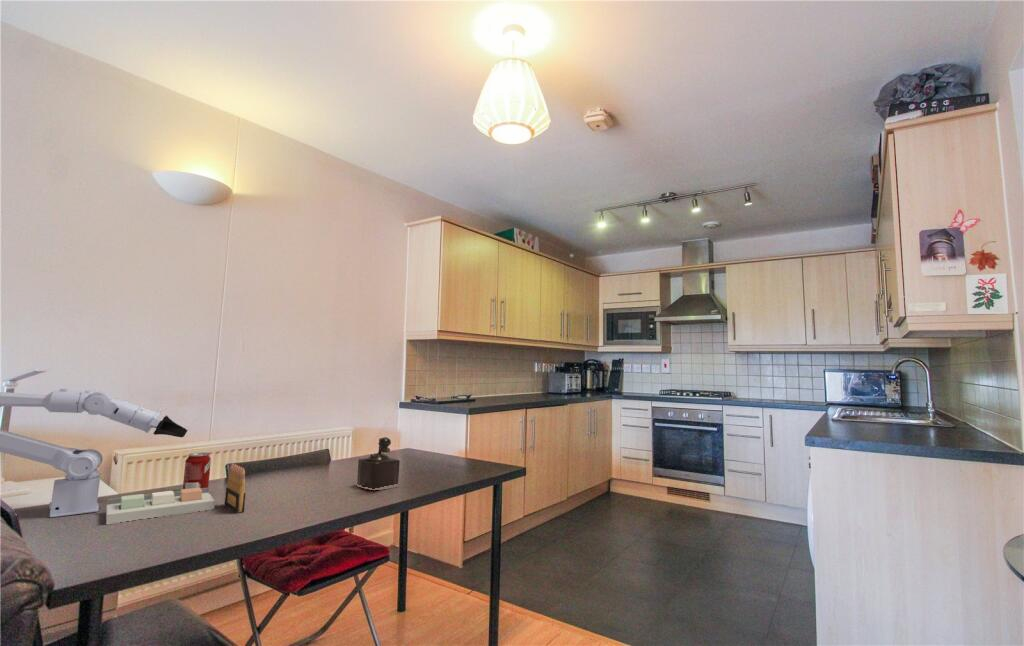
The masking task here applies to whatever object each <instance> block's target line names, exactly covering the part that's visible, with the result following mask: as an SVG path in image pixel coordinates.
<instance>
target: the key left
mask: <svg viewBox="0 0 1024 646" xmlns="http://www.w3.org/2000/svg"><path fill="white" fill-rule="evenodd" d="M144 495H145V494H144V493H141V494H140V493H138V494H131V495H130V494H129V495H122V496H121V497H120V498H121V504H120V510H122V509H130V508H138V507H143V506H144Z"/></svg>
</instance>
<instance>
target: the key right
mask: <svg viewBox="0 0 1024 646" xmlns="http://www.w3.org/2000/svg"><path fill="white" fill-rule="evenodd" d="M179 491H180V502H185V501H193V500H201V499H202V490H201V489H200V488H191V489H183V488H182V489H180V490H179Z"/></svg>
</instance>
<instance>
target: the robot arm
mask: <svg viewBox="0 0 1024 646" xmlns="http://www.w3.org/2000/svg"><path fill="white" fill-rule="evenodd" d="M1 407H29V408H31V407H32V408H33V407H35V408H36V407H37V408H38V407H39V408H44V409H46V410H47V411H48V412H49V413H71V414H73V413H74V414H75V413H76V414H81V413H83V412H87V413H88V415H91V416H98V415H100V416H102V417H104V418H108V419H110V420H112V421H114V422H116V423H117V422H118V423H120V424H124V425H125V426H129V427H131V428H133V429H134V428H135V429H138V430H140V431H143V432H145V434H146V433H149V432H150V431H151V429H155V430H154V431H153V433H152V434H153V435H155V436H156V435H166V436H171V437H176V438H184V437H185V435H186V434H187V432H188V429H186V428H185V427H183V426H181V425H180V424H178V423H176V422H175V421H173V420H172V419H171V418H170V417H169V416H168V415H167V414H165V416H164V417H163V418H162V420H161V419H159V417H160V415H161V412H162V411H163V409H160V408H159V410H158V411H154V410H151V409H148V408H145V407H142V406H140V405H137V404H134V403H131V402H129V401H126V400H122V399H119V398H117V397H112V396H111V395H110V394H109V393H106V392H102V391H96V392H93V393H91V390H89V389H88V390H87V389H86V390H85V391H74V390H68V388H60V389H59V390H58V389H57V390H56V389H55V390H53V391H51V392H50V393H48V394H36V393H20V392H10V391H9V392H7V391H5V392H4V391H0V408H1ZM0 453H3V454H6V455H10V456H15V457H19V458H22V459H26V460H30V461H34V462H37V463H38V462H39V463H41V464H45V465H50V467H51V466H52V467H53V468H55V470H58V471H61V472H64V473H65V474H66V475H65V476H64V478H59V479H55V480H54V481H53V486H52V487H53V489H52V494H51V495H52V496H51V501H50V502H49V506H48V507H49V508H48V510H50V511H49V516H48V517H49V518H57V517H63V516H64V517H65V516H73V515H79V514H87V513H96V512H99V510H100V509H99V508H100V507H99V506H100V505H99V504H100V503H98V500H99V499H98V497H99V490H100V481H101V472H100V471H99V470H98V469H99V467H100V466H101V465H102V463H103V458H104V457H103V455H102V453H101V452H100V451H98V449H97V450H96V449H94V448H93V449H92V448H91V449H90V448H87V449H79V448H76V447H66V446H62V445H59V444H54V443H52V442H51V443H50V442H47V441H43V440H39V439H36V438H33V437H29V436H25V435H21V434H18V433H15V432H11V431H8V430H4V429H0Z"/></svg>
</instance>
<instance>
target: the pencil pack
mask: <svg viewBox="0 0 1024 646" xmlns="http://www.w3.org/2000/svg"><path fill="white" fill-rule="evenodd" d="M245 480H246V471H245V468H244V467H242V466H240V465H238V464H236V463H234V462H232V463H231V465H230V468H229V473H228V479H227V487H225V498H224V505H223V506H225V507H226V506H227V507H226V508H227V509H229V508H230V509H229V510H230V511H232V510H233V511H232V512H234V513H235V512H236V513H235V514H240V513H241V512H242V513H245V506H246V505H245V504H246V503H245V501H246V492H245V491H246V490H245V489H246V481H245Z"/></svg>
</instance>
